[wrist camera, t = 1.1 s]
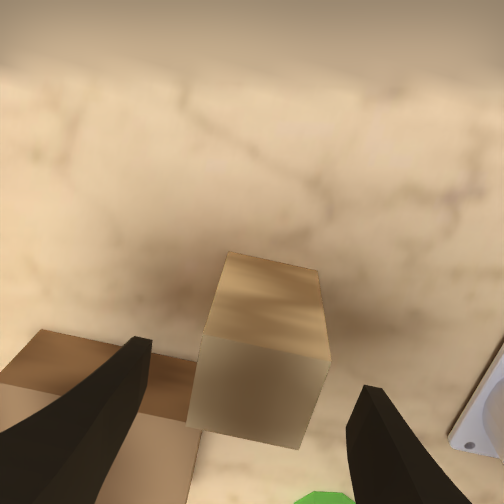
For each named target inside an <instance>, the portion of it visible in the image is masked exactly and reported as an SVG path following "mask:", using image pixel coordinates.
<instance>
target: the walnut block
mask: <svg viewBox="0 0 504 504" xmlns="http://www.w3.org/2000/svg"><path fill="white" fill-rule="evenodd" d="M121 347H122V346H118V345H113V344H108V343H103V342H99V341H94V340H89V339H85V338H80V337H75V336H71V335H66V334H61V333H57V332H52V331H47V330H43V329H41V330H40V331H39V332H38V333H37V334H36V335H35V336H34V337H33V338H32V339H31V341H30V342H29V343H28V344H27V345H26V346H25V347H24V348H23V349H22V350H21V351H20V352H19V353H18V354H17V355H16V356H15V358H14V359H13V360H12V361H11V362H10V363H9V364H8V365H7V366H6V367H5V368H4V369H3V370H2V371H1V372H0V432H2V431H4V430H6V429H8V428H10V427H12V426H14V425H15V424H17V423H19V422H20V421H22V420H24V419H26V418H27V417H29V416H31V415H33V414H34V413H36V412H38V411H39V410H41V409H42V408H44V407H45V406H47V405H49V404H50V403H52V402H53V401H55V400H56V399H58V398H59V397H61V396H62V395H63V394H65V393H66V392H68V391H69V390H70V389H72V388H73V387H74V386H76V385H77V384H78V383H80V382H81V381H82V380H84V379H85V378H86V377H88V376H89V375H90V374H91V373H92V372H94V371H95V370H96V369H97V368H98V367H100V366H101V365H102V364H103V363H105V362H106V361H107V360H108V359H109V358H110V357H111V356H113V355H114V354H115V353H116V352H117V351H118V350H119V349H120V348H121ZM196 367H197V362H192V361H188V360H183V359H178V358H174V357H169V356H164V355H160V354H155V353H151V358H150V366H149V375H148V383H147V388H146V391H145V393H144V396H143V399H142V402H141V405H140V407H139V410H138V413H137V415H136V417H135V419H134V421H133V423H132V426H131V428H130V430H129V432H128V434H127V436H126V438H125V440H124V442H123V444H122V446H121V448H120V450H119V452H118V454H117V456H116V458H115V460H114V462H113V464H112V466H111V468H110V470H109V472H108V474H107V476H106V478H105V480H104V483H103V485H102V487H101V489H100V491H99V494H98V496H97V499H96V501H95V504H186V502H187V498H188V494H189V489H190V485H191V481H192V476H193V471H194V467H195V462H196V457H197V452H198V448H199V443H200V438H201V434H202V430H200V429H196V428H191V427H186V421H187V415H188V410H189V405H190V399H191V394H192V389H193V383H194V378H195V372H196Z"/></svg>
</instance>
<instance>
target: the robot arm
mask: <svg viewBox="0 0 504 504" xmlns="http://www.w3.org/2000/svg"><path fill="white" fill-rule="evenodd" d="M152 341H153V340H150V339H146V338H141V337H136V336H134V337H132V338H131V339H130V340H129V341H128V342H127V343H126V344H124V345H123V346H122V347H121V348H120V349H119V350H118V351H117V352H116V353H115V354H114V355H113V356H111V357H110V358H109V359H108V360H107V361H106V362H105V363H103V364H102V365H101V366H100V367H98V368H97V369H96V370H95V371H94V372H92V373H91V374H90V375H89V376H88V377H86V378H85V379H84V380H82V381H81V382H80V383H78V384H77V385H76V386H74V387H73V388H72V389H70V390H69V391H68V392H66V393H65V394H63V395H62V396H61V397H59V398H58V399H56V400H55V401H53V402H52V403H50V404H49V405H47V406H45V407H44V408H42V409H41V410H39V411H38V412H36V413H34V414H33V415H31V416H29V417H27V418H26V419H24V420H22V421H20V422H19V423H17V424H15V425H14V426H12V427H10V428H8V429H6V430H4V431H2V432H0V504H95V501H96V499H97V496H98V494H99V491H100V489H101V487H102V485H103V483H104V480H105V478H106V476H107V474H108V472H109V470H110V468H111V466H112V464H113V462H114V460H115V458H116V456H117V454H118V452H119V450H120V448H121V446H122V444H123V442H124V440H125V438H126V436H127V434H128V432H129V430H130V428H131V426H132V423H133V421H134V419H135V417H136V415H137V413H138V410H139V407H140V405H141V402H142V399H143V396H144V393H145V391H146V388H147V383H148V375H149V366H150V358H151V349H152ZM447 439H448V442H449V444H450V446H451V447H452V448H453V449H456V450H461V451H466V452H470V453H475V454H480V455H484V456H489V457H494V458H498V459H501V461H502V463H503V465H504V344H503V345H502V347H501V349H500V350H499V352H498V354H497V355H496V357H495V359H494V360H493V362H492V364H491V365H490V367H489V369H488V370H487V372H486V374H485V375H484V377H483V379H482V380H481V382H480V384H479V385H478V387H477V389H476V390H475V392H474V394H473V395H472V397H471V399H470V400H469V402H468V404H467V405H466V407H465V409H464V410H463V412H462V414H461V415H460V417H459V419H458V420H457V422H456V424H455V425H454V427H453V429H452V430H451V432H450V434H449V435H448V438H447ZM346 444H347V458H348V464H349V470H350V475H351V481H352V486H353V492H354V497H355V502H356V504H472V503H471V502H470V501H469V500H468V499H467V498H466V496H465V495H464V494H463V493H462V492H461V491H460V490H459V489H458V488H457V487H456V486H455V484H454V483H453V482H452V481H451V480H450V479H449V477H448V476H447V475H446V474H445V473H444V471H443V470H442V469H441V468H440V467H439V465H438V464H437V463H436V462H435V460H434V459H433V458H432V457H431V455H430V454H429V453H428V452H427V450H426V449H425V448H424V446H423V445H422V444H421V442H420V441H419V440H418V438H417V437H416V436H415V434H414V433H413V431H412V430H411V429H410V427H409V426H408V425H407V423H406V422H405V420H404V419H403V417H402V416H401V415H400V413H399V412H398V410H397V409H396V407H395V406H394V405H393V403H392V402H391V400H390V399H389V397H388V396H387V395H386V393H385V392H384V391H383V389H382V388H378V387H373V386H368V385H364V386H363V389H362V391H361V393H360V395H359V398H358V400H357V402H356V405H355V407H354V409H353V412H352V414H351V416H350V419H349V421H348V423H347V425H346Z"/></svg>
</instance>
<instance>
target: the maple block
mask: <svg viewBox="0 0 504 504" xmlns="http://www.w3.org/2000/svg"><path fill="white" fill-rule="evenodd" d="M331 362H332V361H331V354H330V348H329V341H328V335H327V329H326V322H325V316H324V310H323V303H322V297H321V290H320V284H319V278H318V271H316V270H311V269H307V268H302V267H298V266H293V265H289V264H284V263H279V262H275V261H270V260H266V259H261V258H257V257H252V256H247V255H243V254H238V253H234V252H228V255H227V258H226V261H225V264H224V267H223V271H222V274H221V277H220V280H219V283H218V287H217V290H216V293H215V296H214V299H213V303H212V306H211V309H210V312H209V315H208V318H207V322H206V325H205V328H204V331H203V335H202V340H201V345H200V351H199V356H198V362H197V367H196V372H195V378H194V383H193V389H192V394H191V399H190V405H189V410H188V415H187V421H186V427H191V428H196V429H200V430H205V431H210V432H215V433H219V434H224V435H229V436H233V437H238V438H243V439H248V440H252V441H257V442H262V443H267V444H271V445H276V446H281V447H285V448H290V449H295V450H299V448H300V445H301V443H302V440H303V437H304V435H305V432H306V429H307V427H308V424H309V421H310V419H311V416H312V413H313V411H314V408H315V405H316V403H317V400H318V397H319V395H320V392H321V389H322V387H323V384H324V381H325V379H326V376H327V373H328V371H329V368H330V365H331Z"/></svg>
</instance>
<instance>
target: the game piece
mask: <svg viewBox="0 0 504 504" xmlns="http://www.w3.org/2000/svg"><path fill="white" fill-rule="evenodd" d="M294 504H356V503H355V502H354V501H352V500H351V499H350V498H348V497H347V496H346V495H344V494H343V493H335V492H316V491H314V492H312V493H310V494H308V495H307V496H305V497H303V498H301V499H300V500H298V501H296V502H295V503H294Z"/></svg>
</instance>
